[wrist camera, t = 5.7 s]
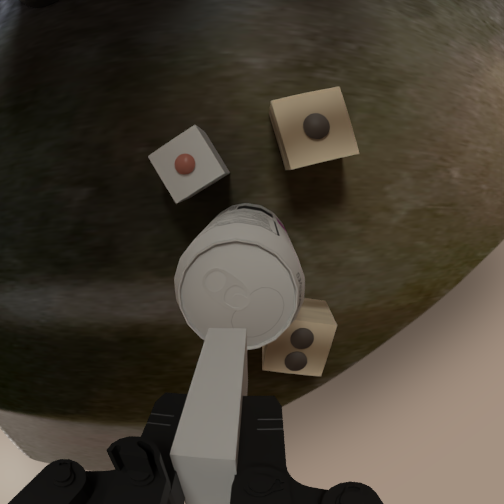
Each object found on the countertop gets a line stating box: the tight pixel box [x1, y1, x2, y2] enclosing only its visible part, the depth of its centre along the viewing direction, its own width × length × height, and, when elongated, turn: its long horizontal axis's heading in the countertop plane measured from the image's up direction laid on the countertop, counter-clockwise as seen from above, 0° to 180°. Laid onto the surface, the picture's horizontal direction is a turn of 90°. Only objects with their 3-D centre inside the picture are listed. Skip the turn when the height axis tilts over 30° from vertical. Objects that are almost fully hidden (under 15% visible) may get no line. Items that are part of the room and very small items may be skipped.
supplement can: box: [174, 203, 305, 350], centre depth 25 cm, size 8×8×15 cm
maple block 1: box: [269, 87, 359, 170], centre depth 27 cm, size 6×6×6 cm
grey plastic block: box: [148, 125, 230, 204], centre depth 28 cm, size 5×5×5 cm
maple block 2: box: [262, 298, 337, 376], centre depth 32 cm, size 6×6×6 cm
